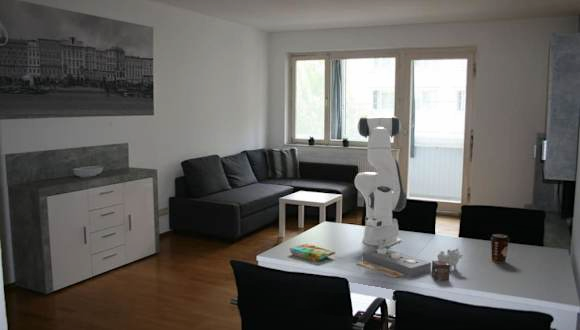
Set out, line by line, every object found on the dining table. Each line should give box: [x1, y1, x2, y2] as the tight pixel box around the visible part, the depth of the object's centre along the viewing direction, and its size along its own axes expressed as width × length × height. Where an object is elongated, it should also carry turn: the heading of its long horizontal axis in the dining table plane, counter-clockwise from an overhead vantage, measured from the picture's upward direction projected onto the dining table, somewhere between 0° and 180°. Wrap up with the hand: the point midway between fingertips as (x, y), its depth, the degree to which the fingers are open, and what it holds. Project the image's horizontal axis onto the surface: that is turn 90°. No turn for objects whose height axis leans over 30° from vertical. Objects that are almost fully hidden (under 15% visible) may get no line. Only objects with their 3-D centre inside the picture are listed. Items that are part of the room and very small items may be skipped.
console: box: [362, 247, 432, 278], centre depth 244 cm, size 14×30×4 cm, turn 37°
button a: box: [376, 248, 387, 255], centre depth 251 cm, size 4×4×3 cm
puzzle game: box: [289, 243, 336, 262], centre depth 256 cm, size 12×5×20 cm
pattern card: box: [356, 260, 405, 279], centre depth 237 cm, size 6×24×1 cm, turn 37°
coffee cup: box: [490, 233, 511, 264], centre depth 252 cm, size 9×8×13 cm
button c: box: [406, 260, 416, 264], centre depth 237 cm, size 4×4×3 cm
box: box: [431, 260, 451, 282], centre depth 226 cm, size 6×6×7 cm
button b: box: [391, 252, 401, 259], centre depth 244 cm, size 4×4×3 cm
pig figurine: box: [437, 247, 463, 272], centre depth 239 cm, size 5×13×11 cm, turn 32°
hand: (381, 248), depth 250 cm, fingers closed
